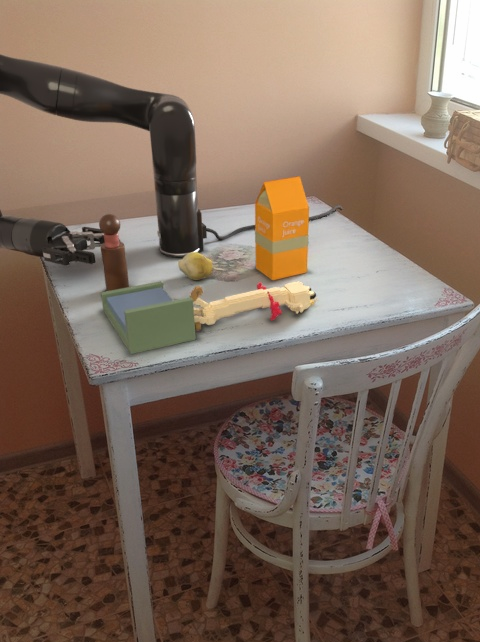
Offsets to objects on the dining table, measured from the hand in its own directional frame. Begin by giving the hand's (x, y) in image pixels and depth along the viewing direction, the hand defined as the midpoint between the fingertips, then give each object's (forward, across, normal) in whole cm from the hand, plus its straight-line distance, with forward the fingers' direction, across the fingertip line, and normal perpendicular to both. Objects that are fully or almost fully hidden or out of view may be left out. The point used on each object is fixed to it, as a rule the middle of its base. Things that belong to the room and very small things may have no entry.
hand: (107, 251), depth 139 cm
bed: (+15, -10, +8) cm, 20 cm away
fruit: (+13, +14, +9) cm, 21 cm away
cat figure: (+32, +2, +9) cm, 33 cm away
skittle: (+1, 0, +8) cm, 9 cm away
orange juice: (+27, +24, +9) cm, 37 cm away
